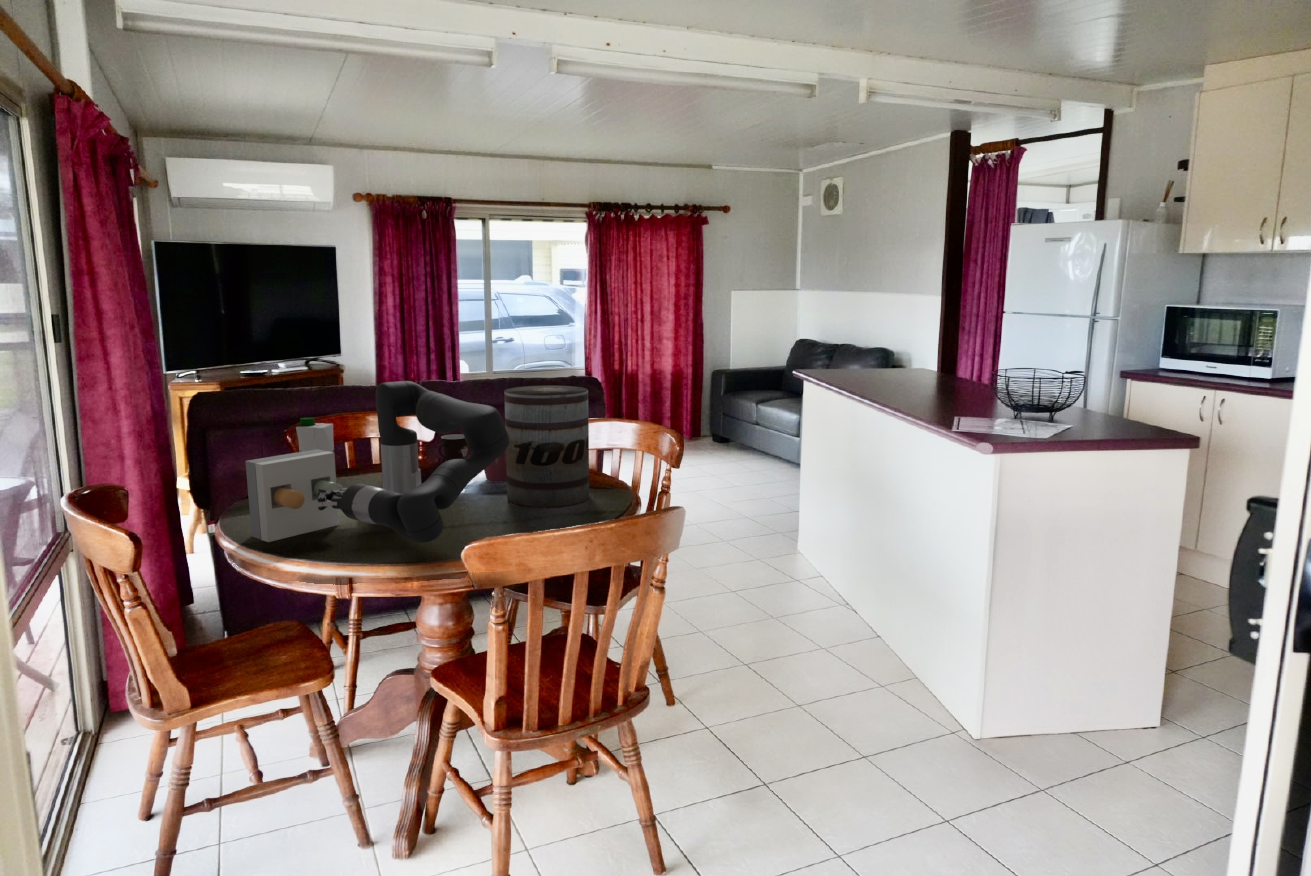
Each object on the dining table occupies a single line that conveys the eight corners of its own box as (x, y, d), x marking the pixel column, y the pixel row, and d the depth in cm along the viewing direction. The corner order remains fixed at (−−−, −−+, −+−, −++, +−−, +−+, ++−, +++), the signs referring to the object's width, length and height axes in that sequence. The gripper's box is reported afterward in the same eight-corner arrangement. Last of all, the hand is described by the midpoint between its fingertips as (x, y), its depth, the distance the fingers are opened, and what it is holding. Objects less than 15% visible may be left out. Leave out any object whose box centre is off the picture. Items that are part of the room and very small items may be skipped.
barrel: (546, 513, 219) (543, 397, 214) (490, 499, 234) (486, 390, 228) (606, 497, 236) (605, 389, 231) (550, 484, 251) (548, 383, 245)
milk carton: (310, 482, 253) (305, 415, 249) (340, 482, 252) (336, 416, 249) (297, 489, 244) (292, 420, 241) (328, 489, 244) (324, 420, 240)
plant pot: (470, 477, 260) (469, 436, 258) (513, 472, 267) (512, 432, 265) (488, 486, 248) (487, 443, 246) (532, 480, 256) (531, 439, 253)
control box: (338, 524, 208) (334, 452, 205) (268, 542, 194) (262, 464, 191) (322, 519, 212) (317, 449, 209) (251, 536, 198) (245, 460, 195)
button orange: (305, 507, 193) (303, 489, 193) (288, 510, 190) (287, 493, 189) (290, 503, 197) (289, 486, 196) (274, 506, 194) (273, 489, 193)
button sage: (344, 498, 201) (343, 482, 200) (329, 501, 198) (327, 485, 197) (329, 494, 205) (328, 478, 204) (314, 497, 202) (313, 481, 201)
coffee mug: (462, 463, 280) (461, 433, 279) (474, 467, 274) (473, 437, 272) (429, 467, 273) (427, 437, 271) (441, 472, 267) (439, 441, 265)
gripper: (395, 480, 179) (346, 471, 189) (339, 492, 169) (291, 481, 179) (397, 515, 180) (349, 503, 191) (342, 528, 170) (294, 516, 180)
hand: (321, 493), depth 185 cm, fingers closed
